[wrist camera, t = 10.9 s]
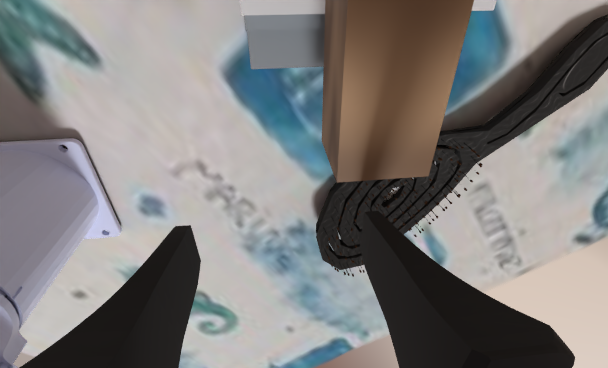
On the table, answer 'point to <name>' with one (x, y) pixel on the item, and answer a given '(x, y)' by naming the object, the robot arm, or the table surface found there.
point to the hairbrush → (458, 153)
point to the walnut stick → (388, 83)
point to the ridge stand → (293, 31)
